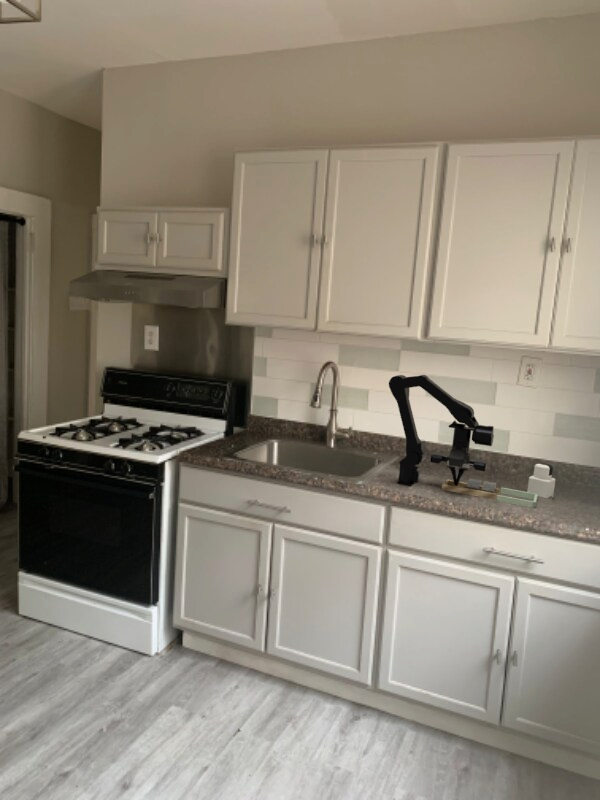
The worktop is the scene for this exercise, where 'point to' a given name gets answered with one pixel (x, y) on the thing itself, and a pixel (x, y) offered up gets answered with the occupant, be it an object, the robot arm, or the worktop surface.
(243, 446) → the worktop surface
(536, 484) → the medicine bottle
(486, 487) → the grey square block
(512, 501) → the green tray
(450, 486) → the wooden tray
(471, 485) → the grey cube
